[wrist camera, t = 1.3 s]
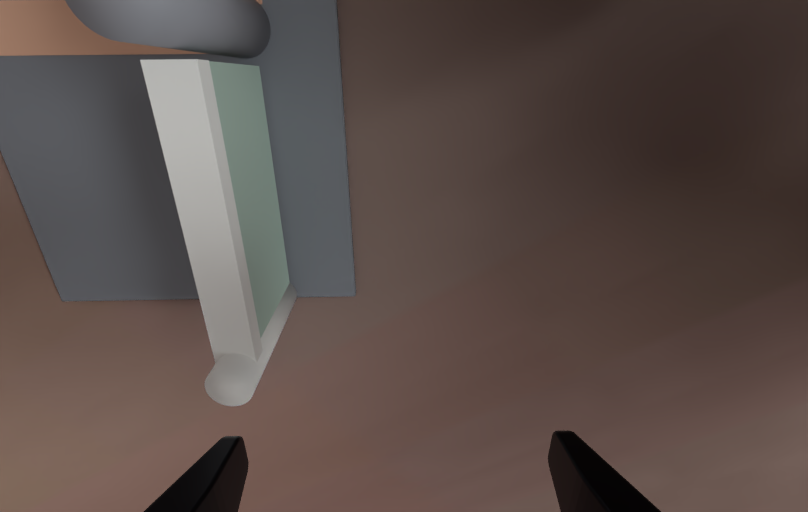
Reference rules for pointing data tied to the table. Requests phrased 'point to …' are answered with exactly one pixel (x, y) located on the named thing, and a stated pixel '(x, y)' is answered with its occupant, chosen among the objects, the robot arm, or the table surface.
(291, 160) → the mat
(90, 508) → the table surface
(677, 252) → the table surface
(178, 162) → the fence gate
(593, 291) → the table surface
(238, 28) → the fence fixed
